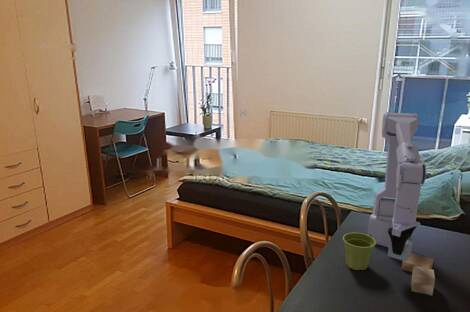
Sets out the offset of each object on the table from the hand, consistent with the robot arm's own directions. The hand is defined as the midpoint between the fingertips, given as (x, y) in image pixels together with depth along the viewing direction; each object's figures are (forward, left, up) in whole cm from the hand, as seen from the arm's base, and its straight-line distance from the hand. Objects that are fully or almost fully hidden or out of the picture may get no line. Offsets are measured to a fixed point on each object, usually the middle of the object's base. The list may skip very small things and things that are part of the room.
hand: (399, 249), depth 106 cm
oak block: (+4, +9, -9) cm, 13 cm away
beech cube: (+7, -1, -9) cm, 11 cm away
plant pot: (-11, -1, -9) cm, 14 cm away
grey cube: (0, 0, -2) cm, 2 cm away
